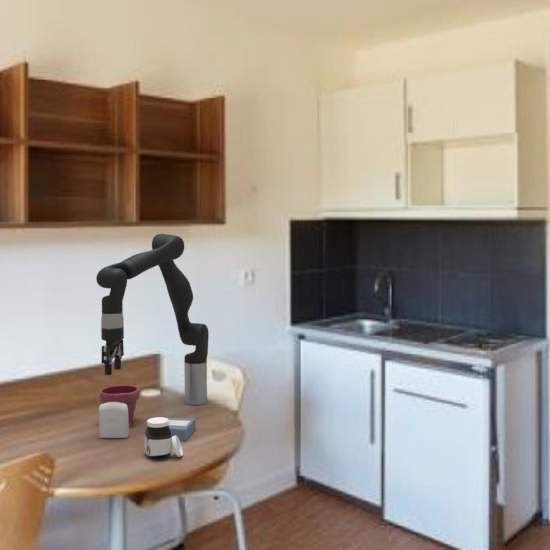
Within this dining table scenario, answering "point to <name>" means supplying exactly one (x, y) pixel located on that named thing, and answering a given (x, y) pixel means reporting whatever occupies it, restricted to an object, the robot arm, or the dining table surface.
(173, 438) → the spread jar
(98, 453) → the dining table surface
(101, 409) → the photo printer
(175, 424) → the base block
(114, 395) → the plant pot
